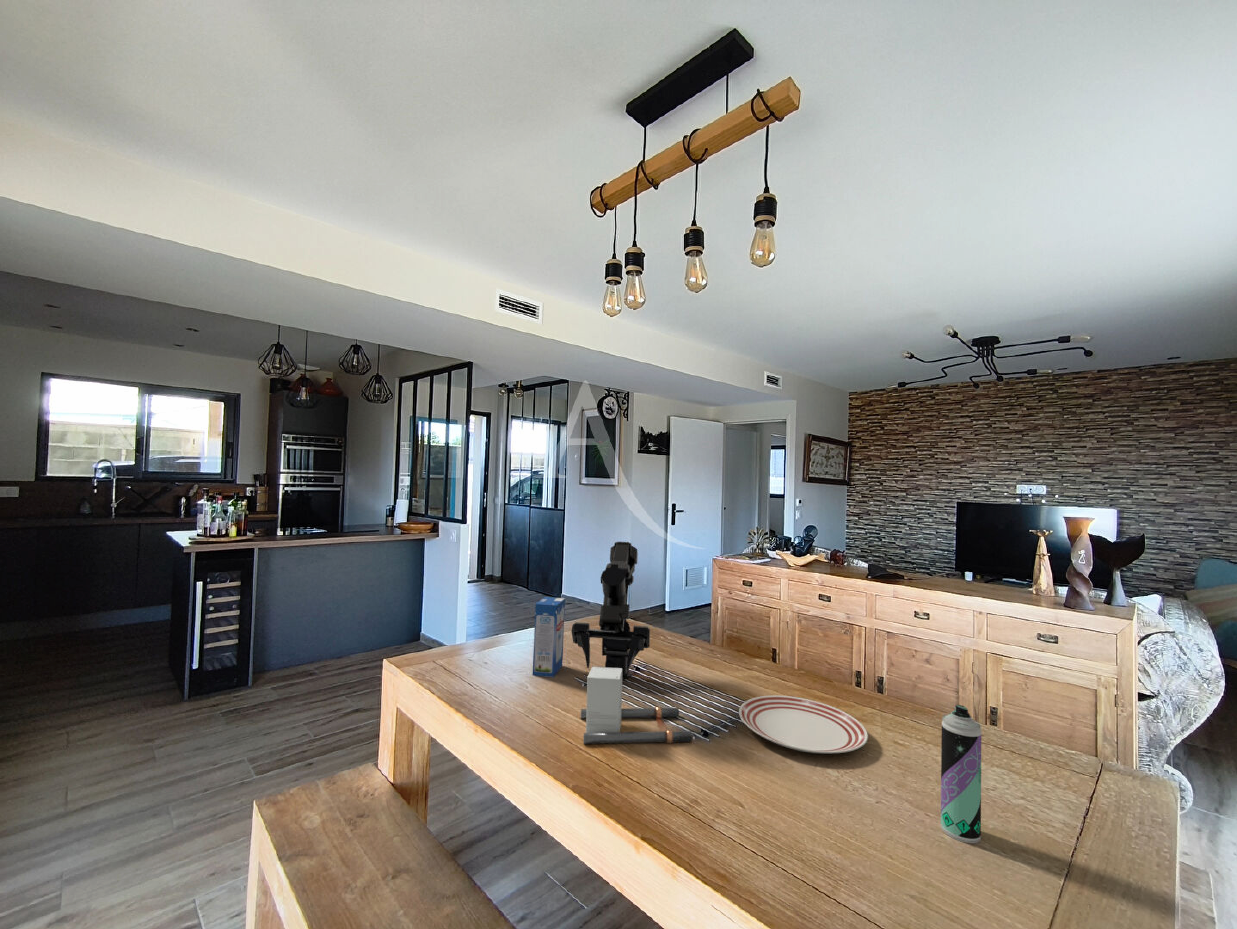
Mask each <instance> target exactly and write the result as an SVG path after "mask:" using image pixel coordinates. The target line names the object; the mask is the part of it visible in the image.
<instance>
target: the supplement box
mask: <svg viewBox="0 0 1237 929" xmlns="http://www.w3.org/2000/svg"><path fill="white" fill-rule="evenodd" d="M586 679H587V680H586V682H587V683H586V685H587V686H586V709H587V711H586V718H585V721H586V722H585V733H608V732H621V731H620V730H621V725H622V718H621V709H622V705H623V704H622V702H623V700H622V698H623V680H622V668H608V667H605V666H592V667H591V668H590V671H589V673H588V675H587V677H586Z"/></svg>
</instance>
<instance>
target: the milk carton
mask: <svg viewBox="0 0 1237 929" xmlns="http://www.w3.org/2000/svg"><path fill="white" fill-rule="evenodd" d="M565 609H566V597H551V596H544V597H543V598H542V599H540V600H539V601H537V602H536V603H535V609H534V610H535V611H534V629H533V630H534V633H533V634H534V635H533V651H532V652H533V654H532V655H533V656H532V658H533V659H532V676H539V677H550V678H555V676H556V675H557V674H558V672H559V671H560V669H561V668H562V667H563V660H564V658H563V657H564V634H565V614H566V613H565V612H566V610H565ZM561 666H562V667H561ZM556 673H557V674H556Z"/></svg>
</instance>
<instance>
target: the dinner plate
mask: <svg viewBox="0 0 1237 929" xmlns="http://www.w3.org/2000/svg"><path fill="white" fill-rule="evenodd" d="M738 709H739V710H738V715H739V718H740V720H741V722H742V723H744V725H745V726H747V728H748V729H750V730H751V731H752V732H754V733H755V734H757V735H758V736H760V737H762V738H763V739H766V741H770V742H771V743H774V744H775V745H778V746H782V747H784V748H786V749H791V750H794V751H797V752H803V753H804V752H805V753H809V754H841V753H842V754H843V753H848V752H853V751H856V750H858V749H861V748H862V747H863V746H865V745H866V744H867V742H868V739H869V734H868V731H867V730H866V728H865V727H864V725H863V724H862V723H861V722H860V721H858V720H857V719H856V718H855V717H853V716H852V715H851V714H849V713H846V712H845V711H843V710H841V709H839V708H836V707H834V706H831V705H828V704H826V703H822V702H819V701H815V700H812V699H807V698H803V697H797V696H791V695H790V696H788V695H763V696H762V695H760V696H756V697H753V698H750V699H748V700H746V701H745V702H743V703H742V704H741V705H740V707H739V708H738Z"/></svg>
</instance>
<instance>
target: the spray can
mask: <svg viewBox="0 0 1237 929" xmlns="http://www.w3.org/2000/svg"><path fill="white" fill-rule="evenodd" d="M954 709H955V710H953V711H951V713H950V714H946V715H943V716H942V721H941V740H940V741H941V745H940V746H941V748H940V749H941V750H940V752H941V753H940V755H941V757H940V763H941V764H940V766H941V767H940V772H941V773H940V828H941V830H942V831H943V832H944V834H946V835H947V836H949V837H950V838H952V839H953V840H956V841H959V842H962V843H966V844H977V843H980V841H981V839H982V730H981V728H982V726H981V724H980V723H979V722H977V721H975V719H973V718H972V715H970V713H969V710H968V708H967V707H966V706H964V705H961V704H955V706H954Z"/></svg>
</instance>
